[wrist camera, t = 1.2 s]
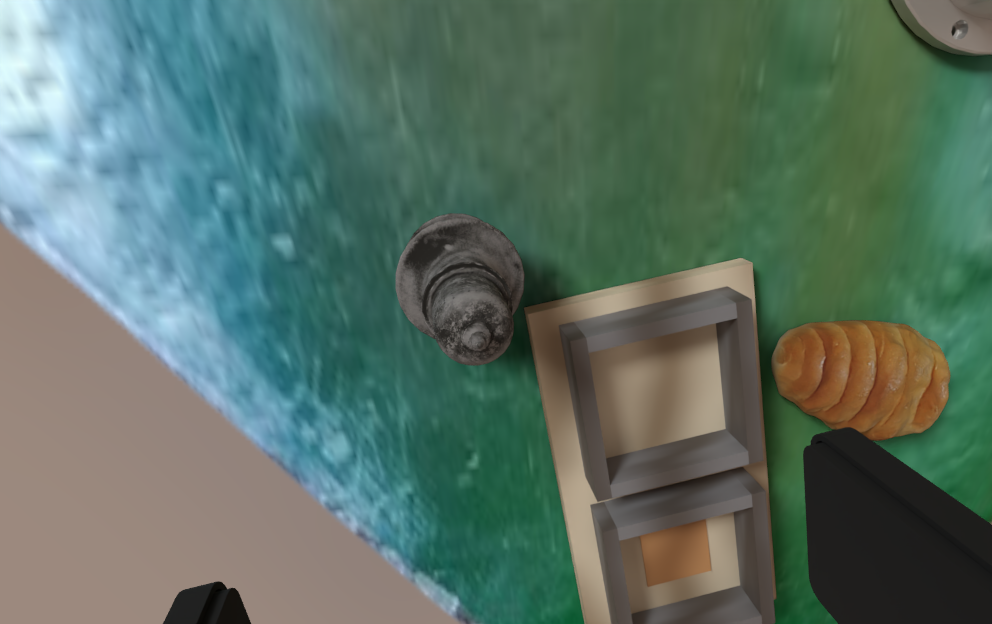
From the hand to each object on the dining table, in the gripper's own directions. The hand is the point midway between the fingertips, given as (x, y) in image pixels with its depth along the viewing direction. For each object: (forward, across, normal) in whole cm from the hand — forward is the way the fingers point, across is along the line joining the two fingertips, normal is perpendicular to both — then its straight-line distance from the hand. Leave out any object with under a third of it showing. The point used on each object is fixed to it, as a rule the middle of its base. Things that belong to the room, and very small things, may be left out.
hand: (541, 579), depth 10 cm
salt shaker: (+23, 0, 0) cm, 23 cm away
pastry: (+24, -21, +11) cm, 34 cm away
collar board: (+23, -9, +14) cm, 29 cm away
